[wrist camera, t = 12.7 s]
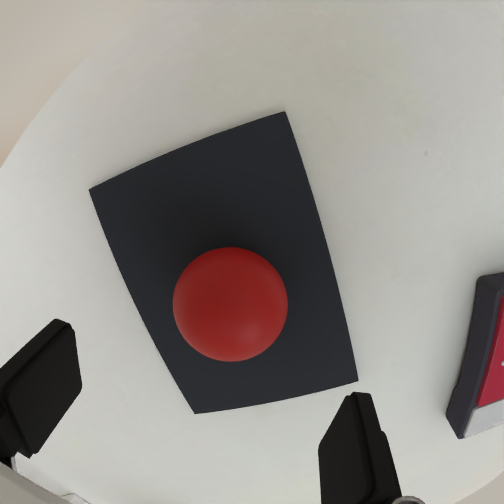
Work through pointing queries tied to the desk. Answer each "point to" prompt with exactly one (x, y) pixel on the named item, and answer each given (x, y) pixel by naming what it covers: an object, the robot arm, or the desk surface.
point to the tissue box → (74, 499)
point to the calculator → (482, 364)
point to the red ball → (230, 304)
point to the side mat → (231, 235)
